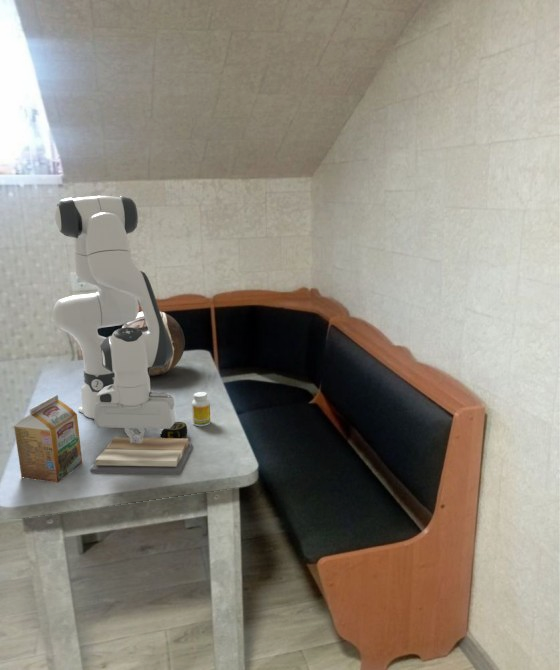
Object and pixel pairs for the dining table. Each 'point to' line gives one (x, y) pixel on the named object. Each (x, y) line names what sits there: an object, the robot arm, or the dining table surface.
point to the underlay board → (144, 467)
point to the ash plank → (139, 457)
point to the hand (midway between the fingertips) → (136, 442)
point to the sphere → (174, 334)
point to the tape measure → (175, 431)
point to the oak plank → (150, 444)
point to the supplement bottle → (201, 409)
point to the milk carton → (48, 441)
